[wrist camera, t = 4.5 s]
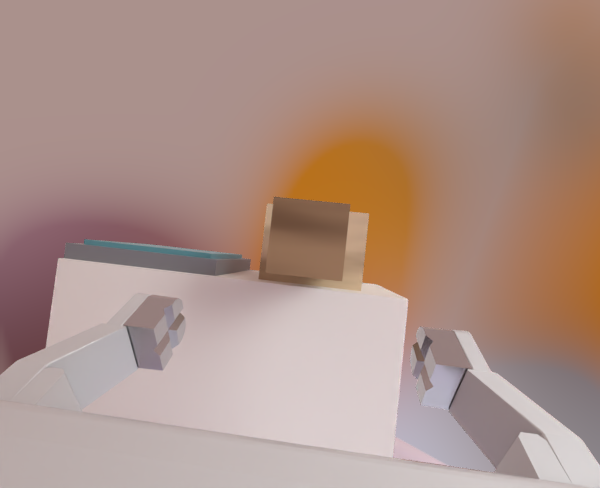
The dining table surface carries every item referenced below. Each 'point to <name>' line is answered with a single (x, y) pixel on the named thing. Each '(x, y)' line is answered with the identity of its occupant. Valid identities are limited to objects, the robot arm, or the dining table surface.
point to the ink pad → (157, 257)
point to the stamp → (313, 244)
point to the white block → (252, 354)
